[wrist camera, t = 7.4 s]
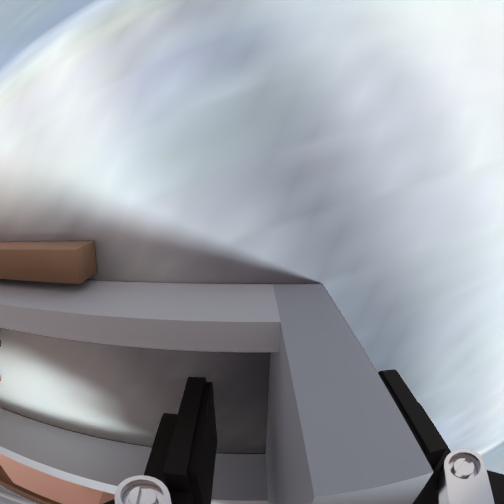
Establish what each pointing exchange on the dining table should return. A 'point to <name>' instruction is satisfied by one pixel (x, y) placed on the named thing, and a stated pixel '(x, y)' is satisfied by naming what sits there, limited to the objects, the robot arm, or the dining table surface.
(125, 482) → the robot arm
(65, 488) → the broken strip
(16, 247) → the lane rails
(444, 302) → the dining table surface
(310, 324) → the grey long open box
